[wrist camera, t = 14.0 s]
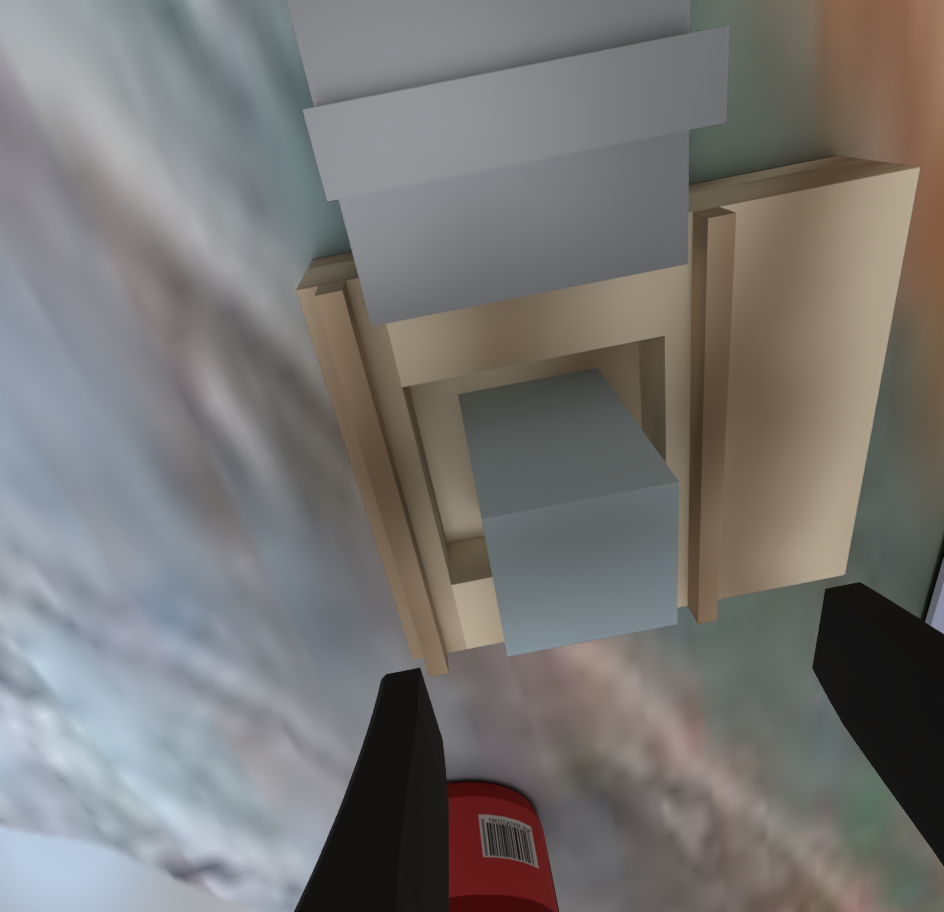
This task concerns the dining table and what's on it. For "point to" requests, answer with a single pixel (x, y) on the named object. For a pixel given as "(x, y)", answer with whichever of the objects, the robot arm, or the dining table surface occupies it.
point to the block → (572, 512)
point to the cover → (506, 140)
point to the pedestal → (644, 390)
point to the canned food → (496, 852)
